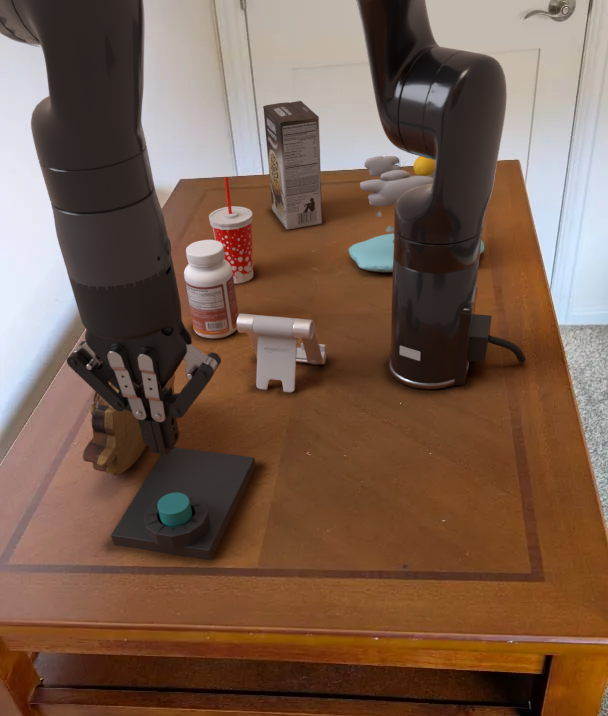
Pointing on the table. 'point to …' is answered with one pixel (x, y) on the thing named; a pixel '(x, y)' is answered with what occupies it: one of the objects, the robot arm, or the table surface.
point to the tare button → (174, 509)
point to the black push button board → (207, 499)
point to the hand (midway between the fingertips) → (164, 447)
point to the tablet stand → (281, 347)
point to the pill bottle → (210, 290)
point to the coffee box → (294, 163)
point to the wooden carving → (113, 438)
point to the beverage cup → (235, 237)
